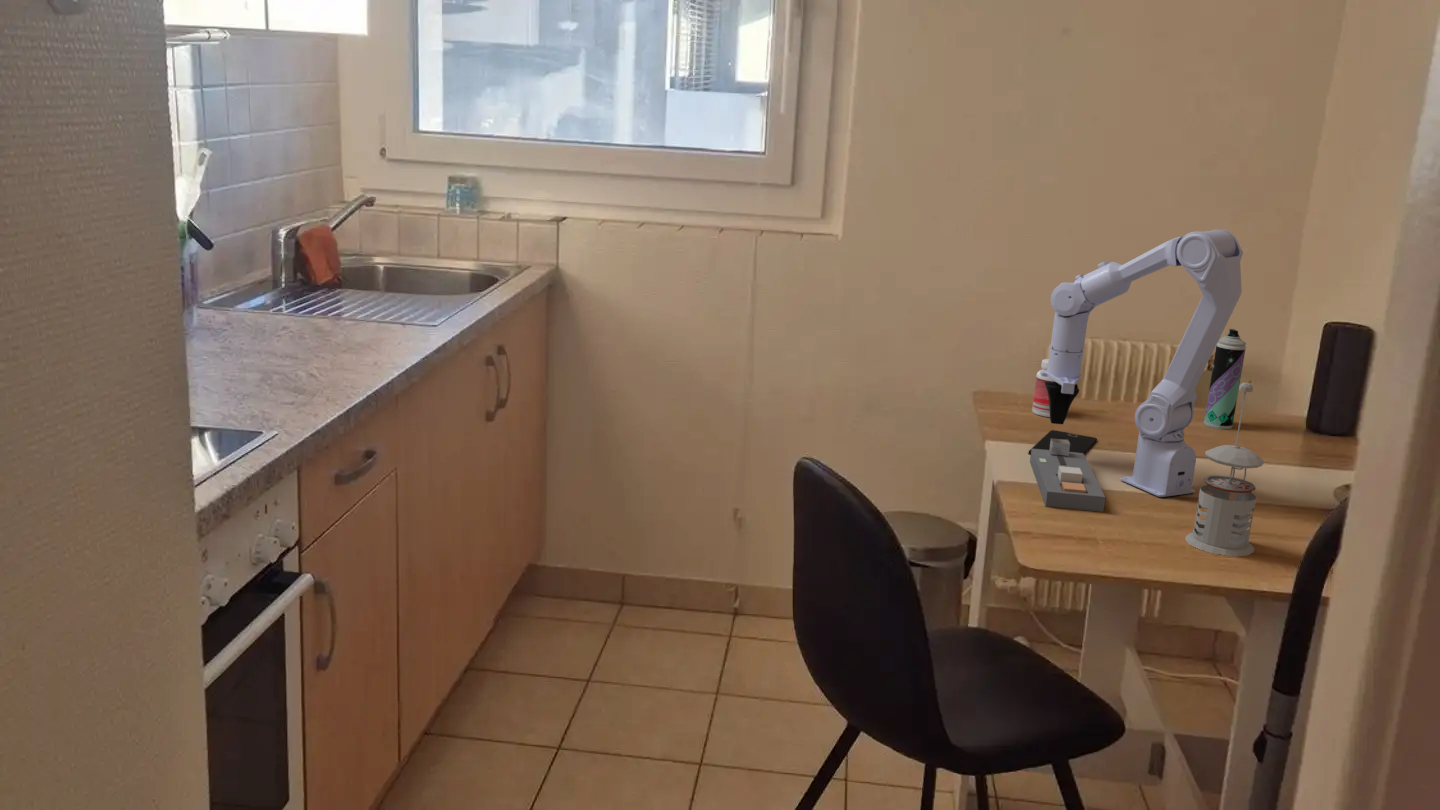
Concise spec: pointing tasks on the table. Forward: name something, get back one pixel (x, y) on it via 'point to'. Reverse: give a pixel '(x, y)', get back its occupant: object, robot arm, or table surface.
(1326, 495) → the table surface
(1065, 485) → the orange button
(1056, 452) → the toggle knob
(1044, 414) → the pill bottle
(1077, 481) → the grey button
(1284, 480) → the table surface
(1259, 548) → the table surface
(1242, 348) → the spray can
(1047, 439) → the cell phone
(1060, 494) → the switch panel
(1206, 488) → the french press
